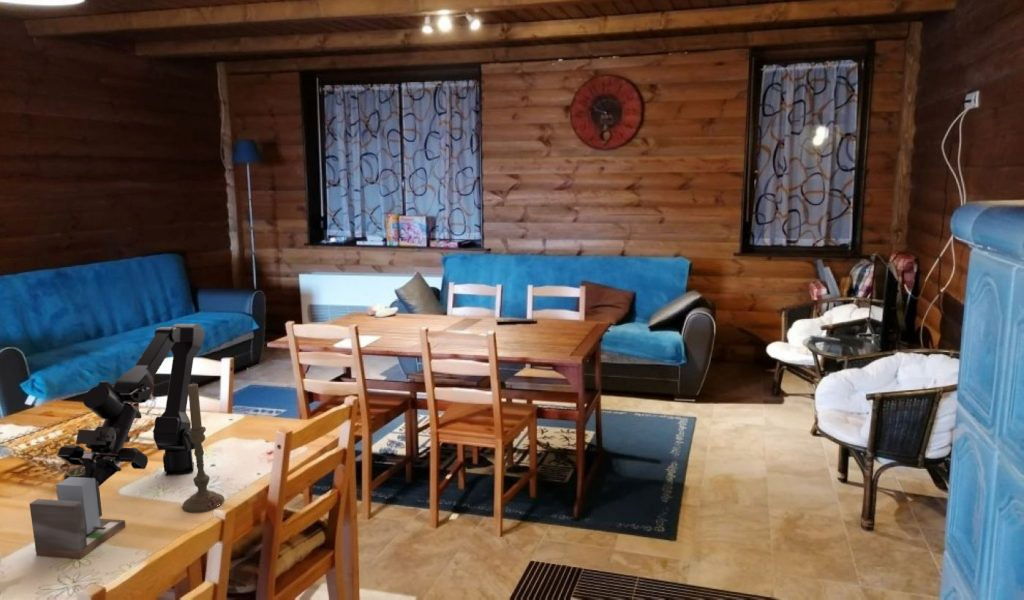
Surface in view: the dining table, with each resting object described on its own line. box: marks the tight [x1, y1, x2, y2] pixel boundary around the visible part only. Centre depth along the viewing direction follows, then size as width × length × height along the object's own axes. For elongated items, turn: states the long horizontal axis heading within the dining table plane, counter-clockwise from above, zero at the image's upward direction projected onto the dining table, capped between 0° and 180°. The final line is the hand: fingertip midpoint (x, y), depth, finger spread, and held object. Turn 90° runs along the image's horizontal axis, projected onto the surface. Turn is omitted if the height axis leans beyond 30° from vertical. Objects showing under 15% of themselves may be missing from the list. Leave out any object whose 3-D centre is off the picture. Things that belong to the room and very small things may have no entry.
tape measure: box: [63, 466, 85, 480], centre depth 185 cm, size 7×7×4 cm
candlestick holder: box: [182, 381, 225, 513], centre depth 172 cm, size 9×9×30 cm
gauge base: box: [29, 498, 126, 560], centre depth 156 cm, size 14×10×12 cm
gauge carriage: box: [55, 477, 106, 535], centre depth 157 cm, size 5×9×11 cm, turn 82°
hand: (87, 493), depth 160 cm, fingers closed, pressing on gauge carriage
